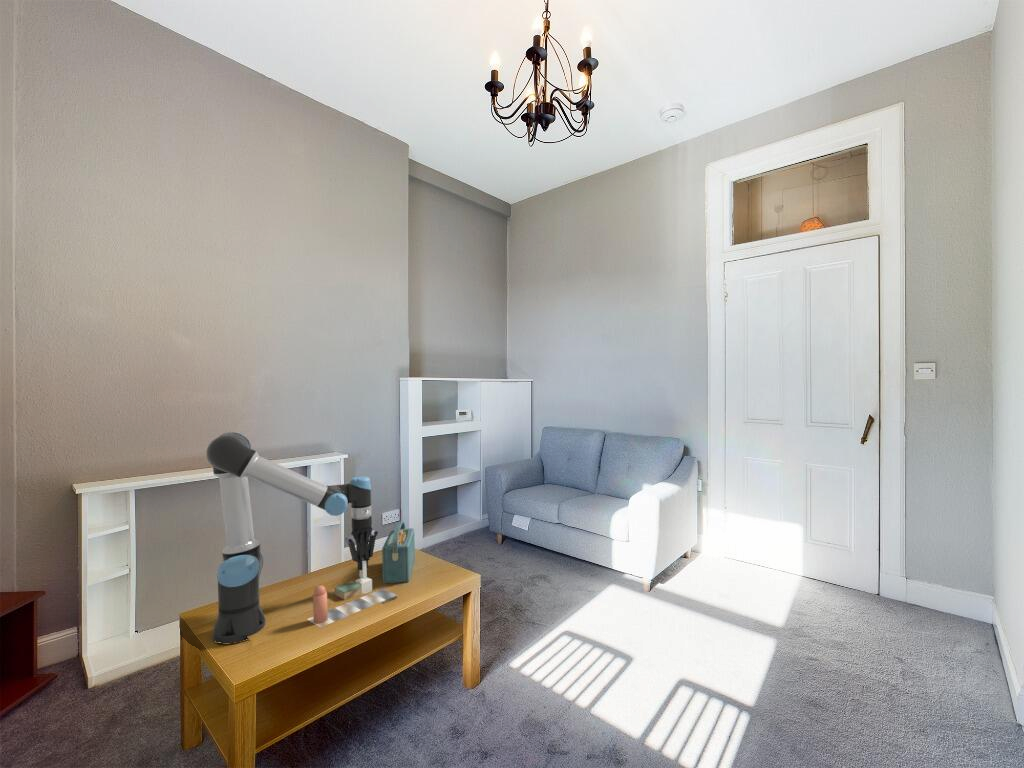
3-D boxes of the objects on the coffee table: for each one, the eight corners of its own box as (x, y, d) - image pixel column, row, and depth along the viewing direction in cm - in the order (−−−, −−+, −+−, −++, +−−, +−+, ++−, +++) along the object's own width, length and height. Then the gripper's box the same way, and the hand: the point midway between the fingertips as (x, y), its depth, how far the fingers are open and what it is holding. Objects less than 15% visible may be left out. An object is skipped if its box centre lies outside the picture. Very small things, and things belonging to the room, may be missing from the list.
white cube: (361, 583, 179) (371, 579, 183) (355, 580, 182) (365, 576, 186) (361, 595, 179) (372, 591, 183) (355, 591, 182) (365, 587, 186)
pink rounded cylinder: (317, 624, 155) (316, 589, 155) (311, 620, 157) (310, 586, 157) (330, 619, 158) (329, 585, 158) (323, 615, 161) (322, 582, 161)
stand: (344, 603, 172) (344, 592, 172) (335, 597, 177) (334, 587, 177) (361, 596, 178) (361, 585, 178) (351, 591, 182) (351, 581, 182)
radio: (391, 561, 213) (390, 517, 213) (415, 559, 214) (414, 516, 214) (381, 585, 188) (380, 535, 188) (409, 583, 189) (408, 533, 189)
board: (320, 631, 153) (320, 627, 153) (307, 622, 159) (307, 619, 159) (396, 598, 176) (396, 594, 176) (383, 591, 181) (383, 588, 181)
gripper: (351, 522, 175) (353, 585, 175) (381, 514, 185) (383, 574, 185) (341, 519, 180) (342, 580, 180) (370, 511, 190) (372, 569, 190)
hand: (363, 577), depth 182 cm, fingers closed
